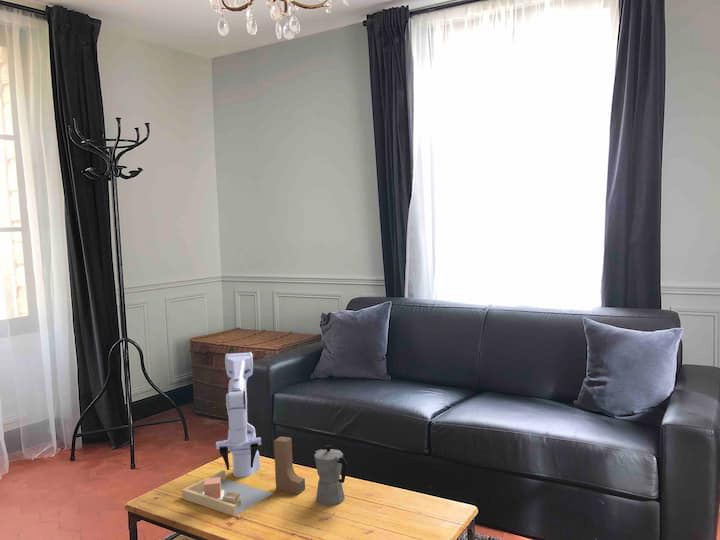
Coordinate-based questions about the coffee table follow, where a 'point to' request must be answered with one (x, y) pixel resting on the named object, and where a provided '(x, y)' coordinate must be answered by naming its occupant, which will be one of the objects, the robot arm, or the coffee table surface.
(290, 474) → the wooden block
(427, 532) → the coffee table surface
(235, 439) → the robot arm
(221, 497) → the pad
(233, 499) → the ash block
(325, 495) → the coffeepot
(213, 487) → the terracotta cube
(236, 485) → the arena board
